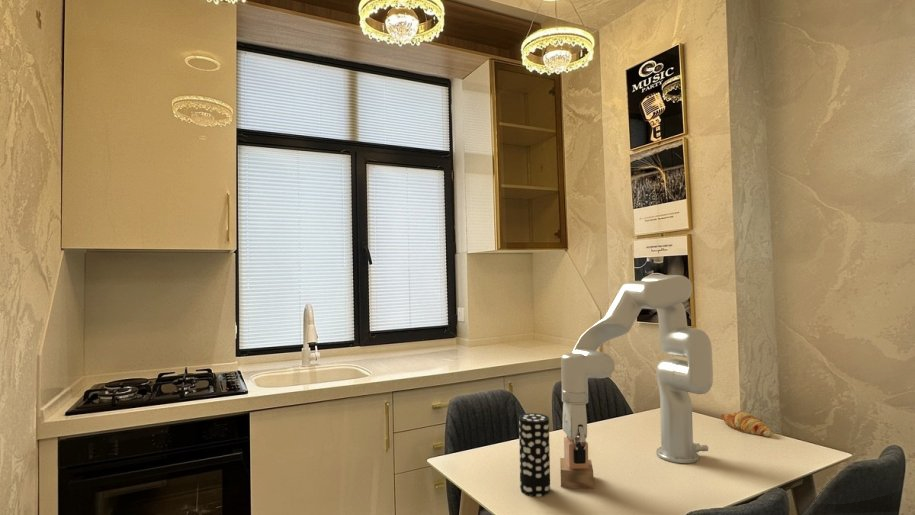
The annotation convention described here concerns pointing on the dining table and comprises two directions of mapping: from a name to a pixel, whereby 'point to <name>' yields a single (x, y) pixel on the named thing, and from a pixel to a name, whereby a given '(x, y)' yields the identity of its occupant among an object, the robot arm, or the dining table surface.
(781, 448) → the dining table surface
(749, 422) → the croissant
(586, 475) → the walnut block
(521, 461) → the white-spotted black cylinder
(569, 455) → the peach matte cube
